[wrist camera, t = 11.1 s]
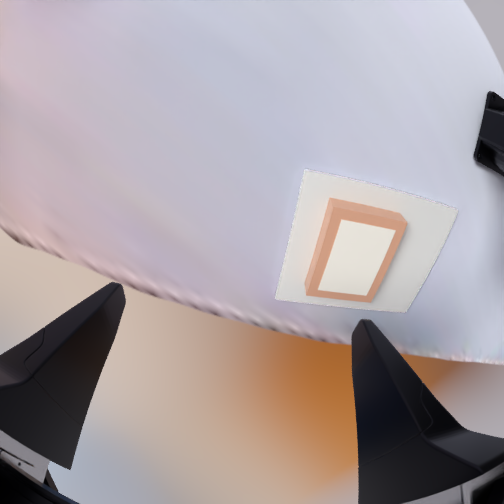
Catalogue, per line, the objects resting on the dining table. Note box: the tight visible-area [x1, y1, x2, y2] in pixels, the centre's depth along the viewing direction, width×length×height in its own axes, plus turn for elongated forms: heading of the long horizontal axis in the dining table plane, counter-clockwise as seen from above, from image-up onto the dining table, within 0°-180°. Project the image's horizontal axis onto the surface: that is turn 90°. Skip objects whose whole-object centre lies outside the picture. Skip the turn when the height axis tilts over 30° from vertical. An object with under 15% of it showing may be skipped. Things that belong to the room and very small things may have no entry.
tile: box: [304, 197, 408, 303], centre depth 21 cm, size 2×8×6 cm
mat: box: [275, 169, 458, 313], centre depth 22 cm, size 14×12×1 cm
